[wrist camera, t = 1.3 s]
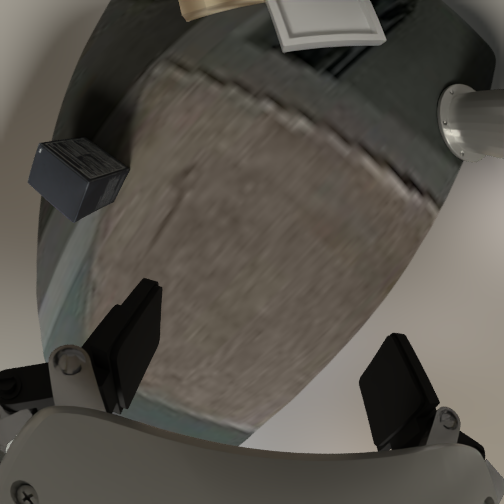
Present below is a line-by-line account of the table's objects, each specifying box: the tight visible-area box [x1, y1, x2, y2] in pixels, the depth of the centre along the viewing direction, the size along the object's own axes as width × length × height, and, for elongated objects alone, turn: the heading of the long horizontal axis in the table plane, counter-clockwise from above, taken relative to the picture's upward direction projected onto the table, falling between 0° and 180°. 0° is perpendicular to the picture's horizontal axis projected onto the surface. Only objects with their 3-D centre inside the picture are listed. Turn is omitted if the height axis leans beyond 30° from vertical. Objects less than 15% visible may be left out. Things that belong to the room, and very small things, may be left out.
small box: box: [28, 137, 130, 223], centre depth 30 cm, size 11×6×10 cm, turn 54°
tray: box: [265, 0, 387, 52], centre depth 23 cm, size 14×14×2 cm
